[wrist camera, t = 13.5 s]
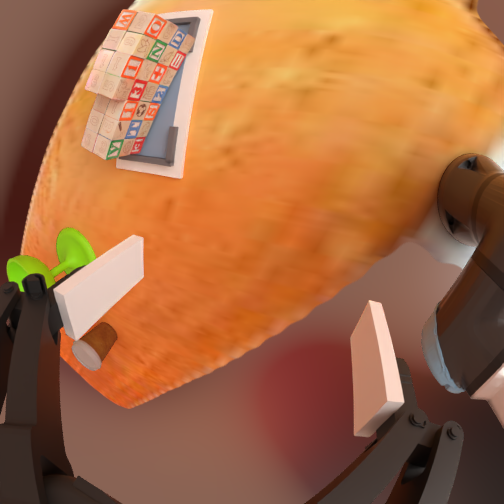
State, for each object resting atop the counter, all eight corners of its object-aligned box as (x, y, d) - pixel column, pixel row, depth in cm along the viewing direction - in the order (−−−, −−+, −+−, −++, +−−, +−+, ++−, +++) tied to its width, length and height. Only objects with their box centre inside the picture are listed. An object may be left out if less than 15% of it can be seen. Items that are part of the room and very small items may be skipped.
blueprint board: (213, 11, 30) (209, 6, 28) (182, 177, 43) (176, 180, 41) (143, 18, 32) (137, 15, 30) (118, 167, 45) (112, 169, 43)
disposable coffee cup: (91, 316, 65) (65, 341, 55) (112, 318, 63) (85, 346, 52) (105, 342, 69) (82, 368, 58) (127, 346, 66) (104, 375, 55)
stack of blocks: (141, 154, 41) (90, 165, 30) (116, 140, 41) (65, 148, 30) (196, 38, 31) (155, 12, 20) (166, 30, 31) (121, 8, 20)
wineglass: (108, 280, 57) (57, 323, 41) (75, 290, 63) (32, 326, 47) (79, 218, 52) (19, 250, 36) (50, 237, 58) (1, 266, 42)
